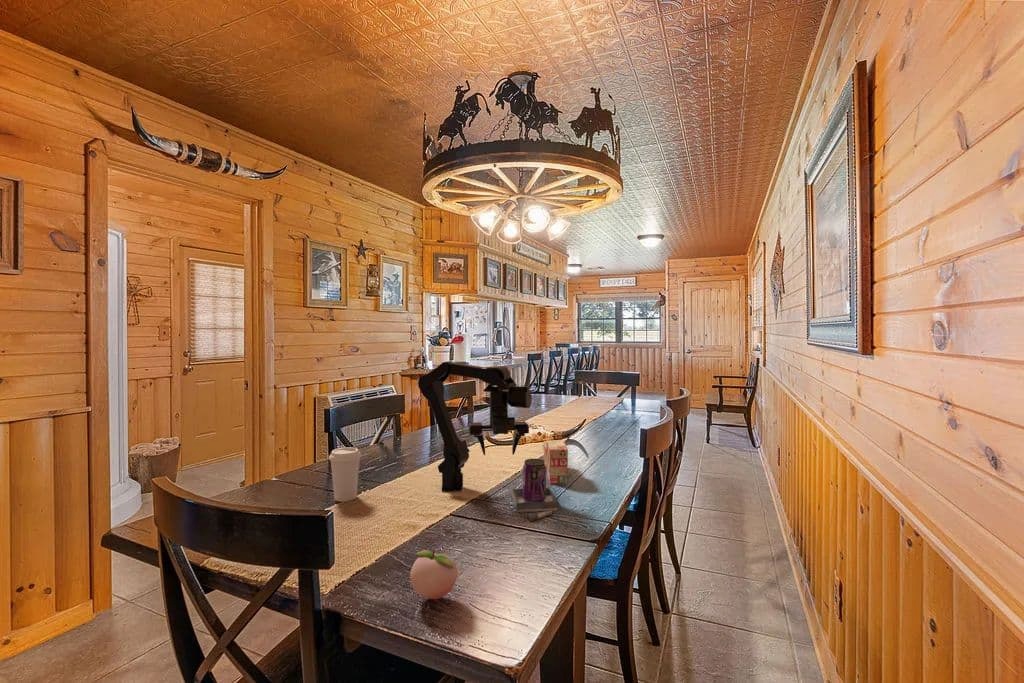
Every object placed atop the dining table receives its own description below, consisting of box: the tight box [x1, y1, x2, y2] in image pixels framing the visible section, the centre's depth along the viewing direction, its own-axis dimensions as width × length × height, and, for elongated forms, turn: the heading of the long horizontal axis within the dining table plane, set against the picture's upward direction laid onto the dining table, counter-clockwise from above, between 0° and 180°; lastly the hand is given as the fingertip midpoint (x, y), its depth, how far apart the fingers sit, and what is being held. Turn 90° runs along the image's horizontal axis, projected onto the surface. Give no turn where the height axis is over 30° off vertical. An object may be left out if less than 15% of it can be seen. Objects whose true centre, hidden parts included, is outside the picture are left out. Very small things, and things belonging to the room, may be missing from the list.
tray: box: [511, 487, 559, 513], centre depth 144 cm, size 12×12×2 cm
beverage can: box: [522, 458, 547, 502], centre depth 145 cm, size 7×7×12 cm
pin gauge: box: [526, 510, 553, 522], centre depth 133 cm, size 8×2×2 cm, turn 127°
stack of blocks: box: [543, 439, 569, 485], centre depth 172 cm, size 21×6×12 cm, turn 2°
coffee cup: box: [328, 446, 362, 503], centre depth 148 cm, size 10×10×15 cm
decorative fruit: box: [409, 549, 458, 600], centre depth 93 cm, size 9×8×10 cm
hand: (498, 454), depth 150 cm, fingers open, 9 cm apart
